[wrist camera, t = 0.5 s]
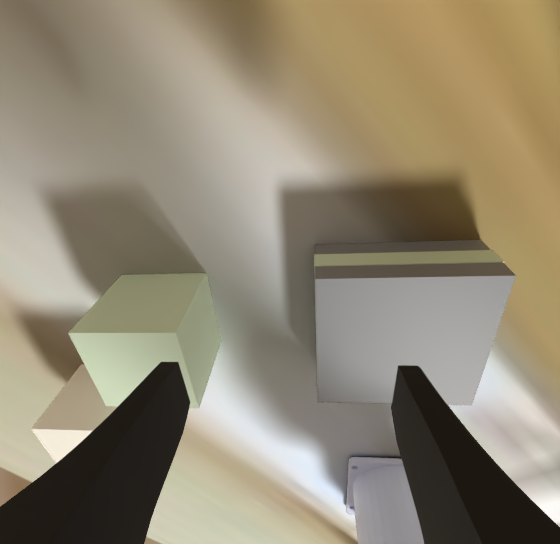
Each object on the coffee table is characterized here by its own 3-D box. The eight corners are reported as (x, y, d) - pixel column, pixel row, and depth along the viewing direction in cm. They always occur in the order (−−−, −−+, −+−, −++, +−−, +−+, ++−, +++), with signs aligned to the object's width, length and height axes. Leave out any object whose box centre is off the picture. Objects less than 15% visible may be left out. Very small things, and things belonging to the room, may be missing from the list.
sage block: (221, 339, 24) (199, 408, 19) (146, 340, 24) (106, 406, 20) (206, 272, 21) (175, 332, 16) (121, 274, 22) (68, 332, 17)
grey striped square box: (448, 356, 23) (472, 405, 20) (316, 355, 24) (317, 402, 21) (479, 236, 19) (517, 274, 15) (313, 241, 20) (314, 278, 16)
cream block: (168, 410, 29) (139, 479, 24) (106, 409, 29) (66, 476, 24) (150, 363, 26) (113, 431, 21) (81, 363, 26) (30, 429, 22)
